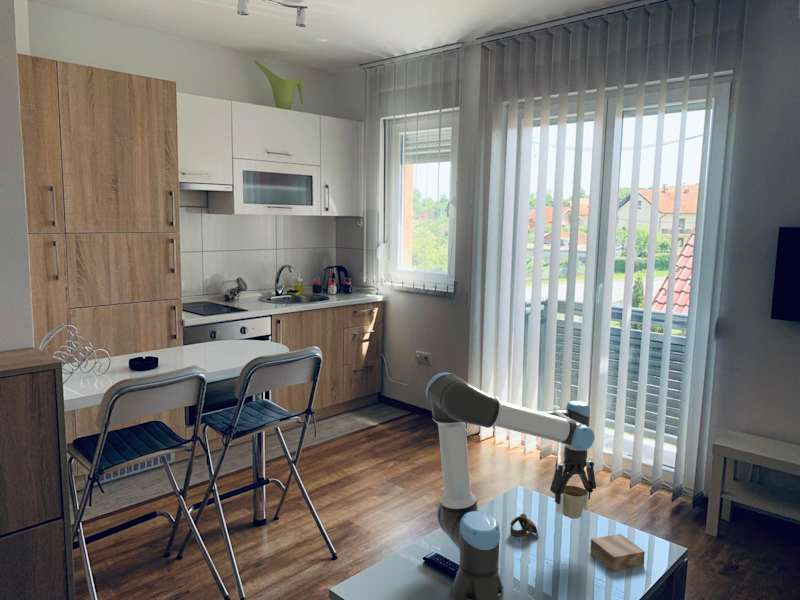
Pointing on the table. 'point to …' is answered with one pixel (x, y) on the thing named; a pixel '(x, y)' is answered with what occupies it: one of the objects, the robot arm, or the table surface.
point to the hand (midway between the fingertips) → (571, 510)
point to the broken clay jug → (523, 527)
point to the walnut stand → (617, 552)
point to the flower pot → (573, 501)
